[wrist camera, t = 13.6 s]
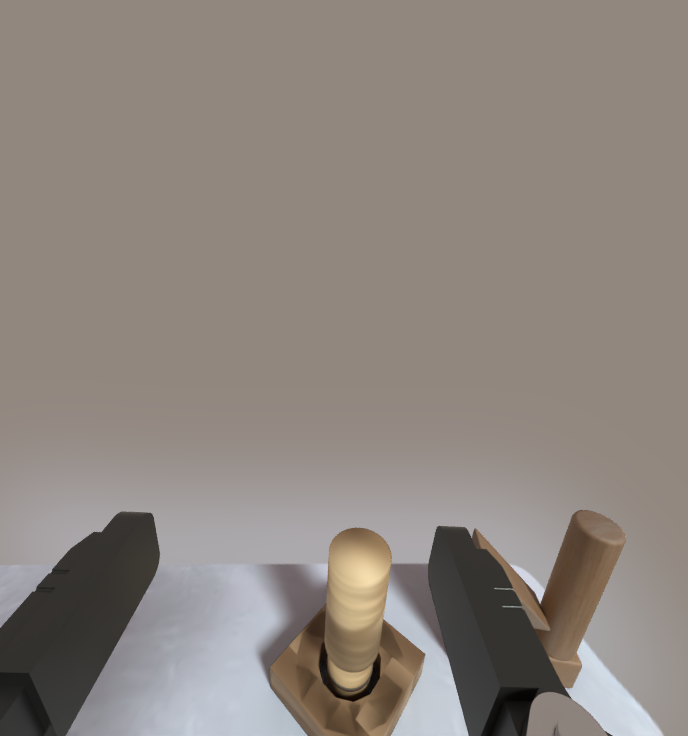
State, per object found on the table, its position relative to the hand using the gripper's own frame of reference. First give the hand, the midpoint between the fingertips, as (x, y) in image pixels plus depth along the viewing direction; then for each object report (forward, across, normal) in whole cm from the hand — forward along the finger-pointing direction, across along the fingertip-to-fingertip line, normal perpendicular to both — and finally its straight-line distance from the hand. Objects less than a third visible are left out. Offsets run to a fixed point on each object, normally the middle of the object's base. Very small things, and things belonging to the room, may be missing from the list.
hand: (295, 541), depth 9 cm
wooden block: (+13, -20, +30) cm, 39 cm away
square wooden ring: (+11, -4, +30) cm, 32 cm away
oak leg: (+11, -4, +30) cm, 32 cm away
